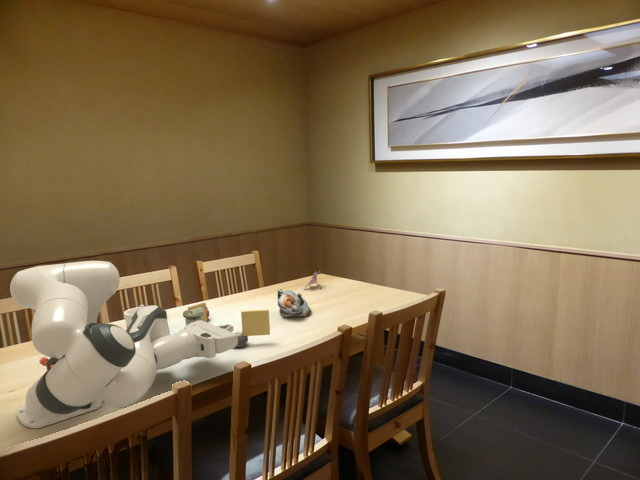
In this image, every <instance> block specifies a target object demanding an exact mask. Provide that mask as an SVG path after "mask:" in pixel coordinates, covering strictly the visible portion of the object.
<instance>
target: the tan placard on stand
mask: <svg viewBox="0 0 640 480" xmlns="http://www.w3.org/2000/svg"><path fill="white" fill-rule="evenodd" d="M240 313H241V315H240V316H241V330H242V331H241V332H234V333H235V334H237V339H238V344H237V345H241V344H245V345H246V344H247V343H248V342H249V337H255V336H269V335H271V329H270V328H271V327H270V309H269V308H268V309H253V310H251V309H249V310H248V309H247V310H241V312H240Z"/></svg>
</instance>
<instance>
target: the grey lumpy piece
mask: <svg viewBox="0 0 640 480" xmlns="http://www.w3.org/2000/svg"><path fill="white" fill-rule="evenodd" d="M277 306H278V307H279V314H280V315H281V317H282V318H287V317H288V318H289V317H308V316H309V315H310V314H311V313H312V311H313V309H311V308H310V306H309V305H308V302H307V301H306V299H305V298H303V297H302V293H300V292H299V293H297V294H296V293H295V292H294V291H293V290H290V289H286V290H282V288H279V289H278V290H277Z"/></svg>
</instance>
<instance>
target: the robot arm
mask: <svg viewBox="0 0 640 480" xmlns="http://www.w3.org/2000/svg"><path fill="white" fill-rule="evenodd" d="M120 281H121V279H120V273H119V269H117V267H116V266H115V265H114V264H113V263H112V262H111V261H104V260H84V261H83V260H82V261H73V262H66V263H65V262H64V263H57V264H54V263H53V264H47V265H46V264H44V265H37V266H33V267H29V268H25V269H23V270H22V269H21V270H19V271H17V272H16V273H15V274H14V275H13V277H12V279H11V282H10V284H9V285H10V287H9V290H10V295H11V298H12V300H13V301H14V302H15V303H16V304H17V305H18V306H20V307H21V308H26V309H32V310H34V314H33V317H32V321H31V339H32V345H33V347H34V349H35V350H36V351H37V352H38V353H39V354H41V355H43V356H44V357H41V358H40V359H39V364H40V365H42V366H44V367H46V371H45V372H44V373H43V374H42V375H41V376H40V377H39V378H38V379H37V380H36V381H35V382H34V383H33V384H32V385H31V386H30V387H29V388H28V389H27V392H26V396H25V405H22V406H20V407H19V408H18V409H17V411H16V419H17V421H19V424H21V425H23V426H25V427H26V428H30V429H40V428H43V427H44V428H45V427H46V426H50V425H53V424H55V423H59V422H62V421H66V420H67V419H68V420H69V419H70V418H74V417H78V416H80V415H83V414H87V413H88V412H92V411H95V410H97V409H98V410H99V408H101V407H102V405H103V403H104V404H105V405H107V406H109V407H111V408H115V409H121V408H126V407H129V406H131V405H133V404H135V403H136V402H138V401H139V400H140V399H141V398H142V397H143V396H144V395H145V394H147V392H148V391H149V389H150V388H151V387H152V385H153V384H154V382H155V379H156V376H157V371H159V370H162V369H166V368H169V367H172V366H175V365H177V364H180V362H182V361H184V360H190V359H192V358H206V359H213V358H215V357H216V355H217V354H218V355H219V354H222V353H225V352H227V351H231V350H232V349H235V348H234V347H236V346H237V344H238V339H237V334H235V333H236V332H234V330H235V329H234V326H233V325H231V324H229V323H226V324H221V325H215V324H213V323H210V322H208V321H207V322H205V321H202V320H199V321H195V322H193V323H190V324H188V325H186V324H185V326H184V327H183V328H181V329H180V330H179V331H177V332H175V333H173V334H171V333H170V328H169V322H168V314H167V310H166V309H165V308H163V307H161V306H159V305H156V304H155V305H145V306H146V307H143V308H141V309H139V310H137V311H136V312H135V313H134V315H133V317H132V322H131V324H130V325H129V327H128V328H127V327H126V330H124V329H123V328H122V327H121V326H118V325H116V324H113V323H108V322H107V323H106V322H103V323H98V319H99V318H98V317H99V313H100V311H101V310H102V307H103V306H104V304H106V302H107V301H108V300H109V299H110V298H111V297H112V296H113V295H115V293H116V292H117V291H118V288H119V286H120V283H121V282H120Z"/></svg>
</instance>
